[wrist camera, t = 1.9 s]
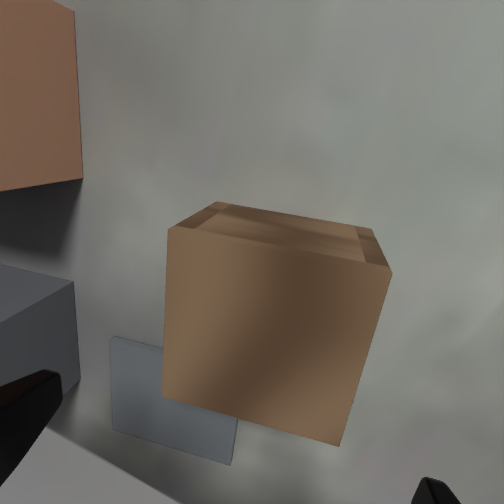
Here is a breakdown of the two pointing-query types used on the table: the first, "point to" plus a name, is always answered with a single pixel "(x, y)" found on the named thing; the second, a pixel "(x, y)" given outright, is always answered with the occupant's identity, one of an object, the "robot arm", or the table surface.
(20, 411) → the robot arm
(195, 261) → the box
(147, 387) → the slate pad
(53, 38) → the terracotta block
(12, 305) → the grey box
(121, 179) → the table surface
